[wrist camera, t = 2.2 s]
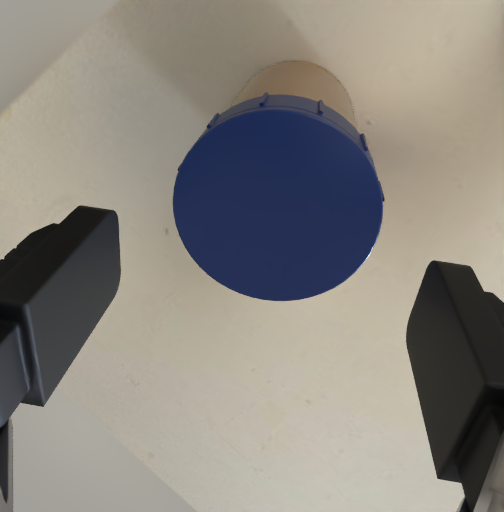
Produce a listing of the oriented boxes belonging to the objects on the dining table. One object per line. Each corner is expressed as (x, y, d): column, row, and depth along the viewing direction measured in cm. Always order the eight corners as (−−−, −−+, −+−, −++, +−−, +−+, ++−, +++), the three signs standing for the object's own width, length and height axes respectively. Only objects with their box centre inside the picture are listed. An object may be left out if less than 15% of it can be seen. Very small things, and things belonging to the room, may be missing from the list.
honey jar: (238, 52, 19) (187, 100, 12) (367, 69, 19) (395, 129, 12) (228, 173, 22) (181, 272, 15) (340, 189, 22) (350, 299, 14)
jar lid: (191, 80, 13) (174, 94, 11) (399, 109, 13) (409, 127, 11) (185, 255, 16) (170, 285, 14) (353, 282, 15) (356, 315, 14)
